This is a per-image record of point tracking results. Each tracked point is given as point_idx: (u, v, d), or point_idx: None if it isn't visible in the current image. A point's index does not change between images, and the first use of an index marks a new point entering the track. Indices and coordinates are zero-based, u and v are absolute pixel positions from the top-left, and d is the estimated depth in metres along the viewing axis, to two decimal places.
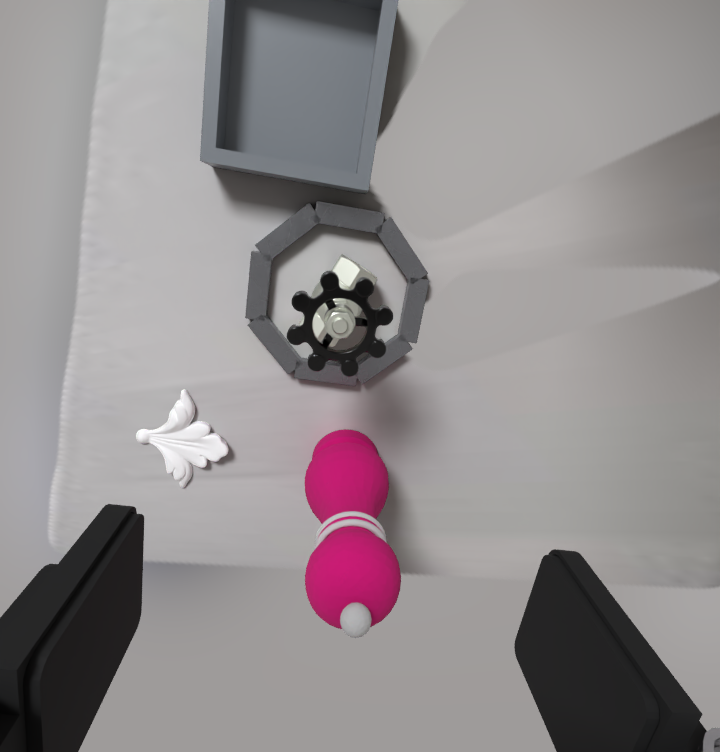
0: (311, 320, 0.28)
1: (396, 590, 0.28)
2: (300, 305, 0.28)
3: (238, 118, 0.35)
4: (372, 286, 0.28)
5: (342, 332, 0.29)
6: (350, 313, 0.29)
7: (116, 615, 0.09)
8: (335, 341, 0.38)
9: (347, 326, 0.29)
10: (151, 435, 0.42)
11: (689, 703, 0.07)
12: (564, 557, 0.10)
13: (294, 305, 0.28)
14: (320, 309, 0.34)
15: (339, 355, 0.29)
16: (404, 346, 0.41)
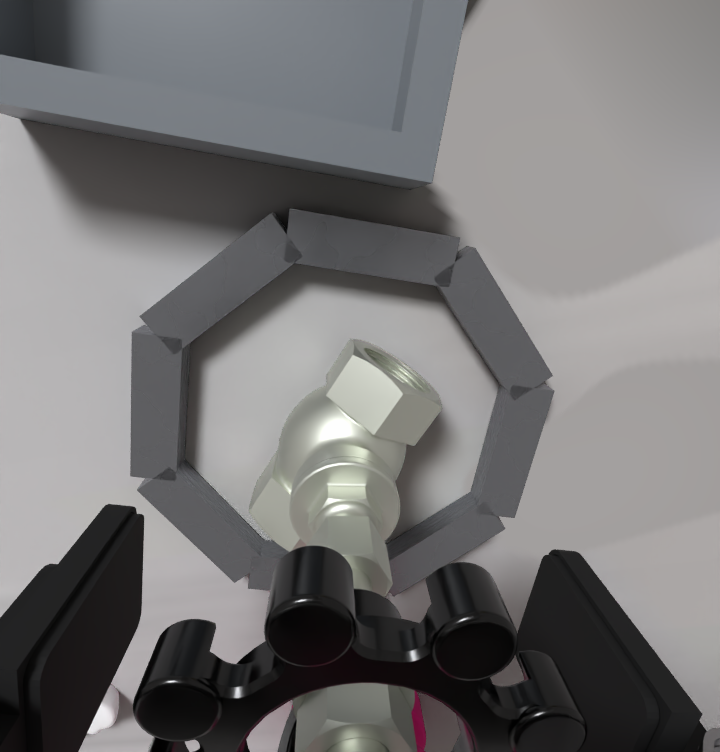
0: None
1: None
2: (175, 725, 0.06)
3: None
4: (514, 644, 0.06)
5: None
6: None
7: (116, 615, 0.09)
8: None
9: None
10: None
11: (689, 703, 0.07)
12: (564, 557, 0.10)
13: (146, 726, 0.06)
14: (297, 514, 0.12)
15: None
16: (488, 524, 0.19)
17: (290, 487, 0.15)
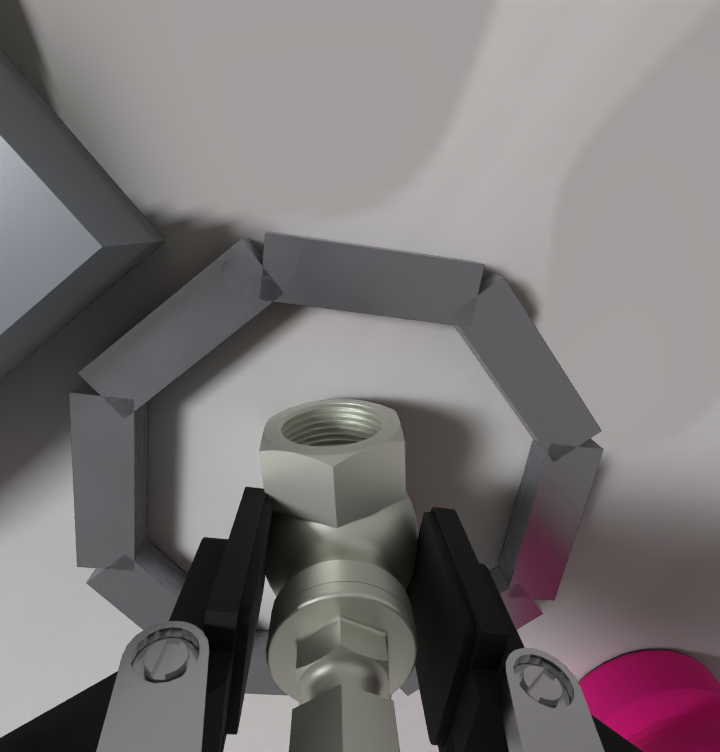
0: None
1: None
2: None
3: None
4: None
5: None
6: None
7: (262, 581, 0.10)
8: None
9: None
10: None
11: (502, 626, 0.08)
12: (438, 513, 0.11)
13: None
14: (291, 688, 0.09)
15: None
16: (579, 460, 0.14)
17: None
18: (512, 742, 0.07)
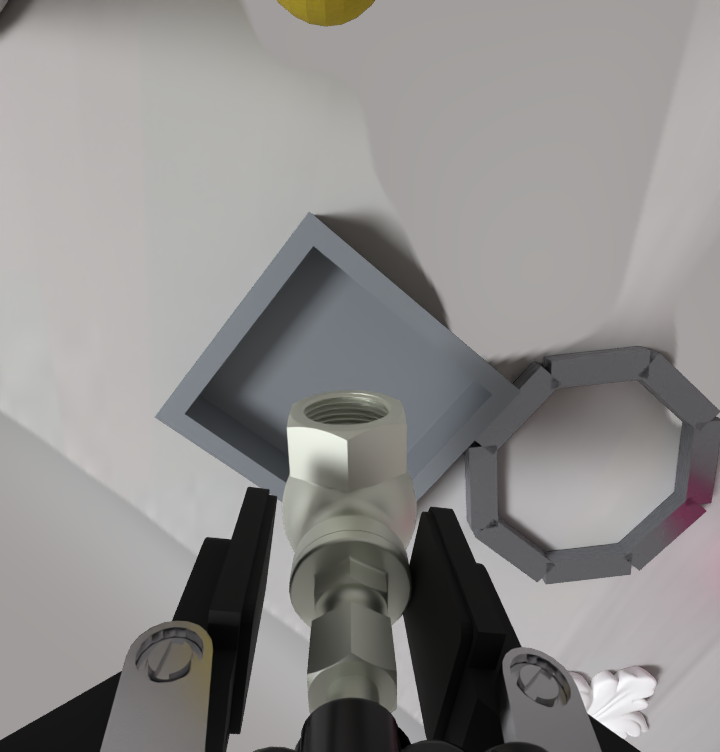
0: None
1: None
2: None
3: None
4: None
5: None
6: None
7: (264, 581, 0.10)
8: None
9: None
10: None
11: (499, 626, 0.08)
12: (436, 512, 0.11)
13: None
14: (308, 617, 0.11)
15: None
16: (711, 428, 0.27)
17: None
18: (508, 741, 0.07)
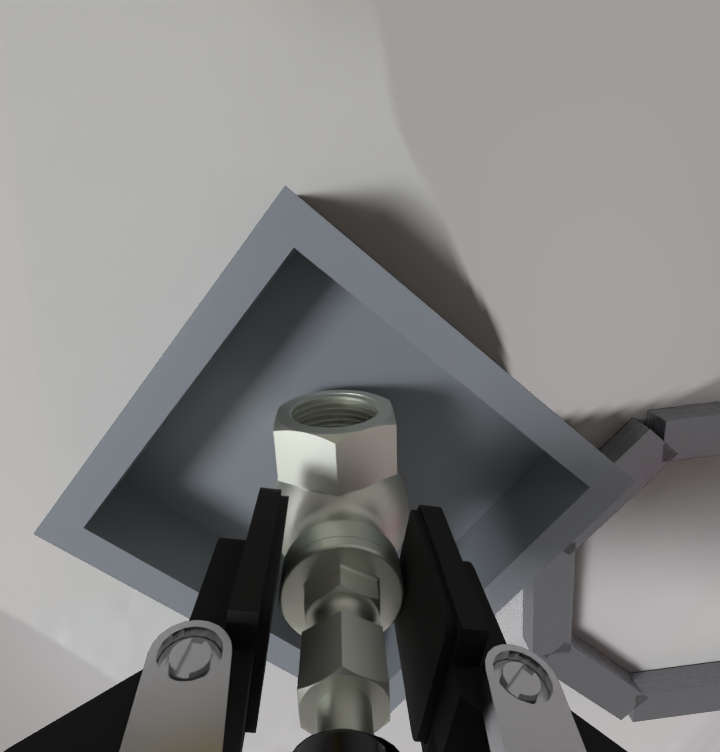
0: None
1: None
2: None
3: None
4: None
5: None
6: None
7: None
8: None
9: None
10: None
11: (483, 623, 0.08)
12: (424, 510, 0.11)
13: None
14: (299, 625, 0.11)
15: None
16: None
17: None
18: (489, 737, 0.07)
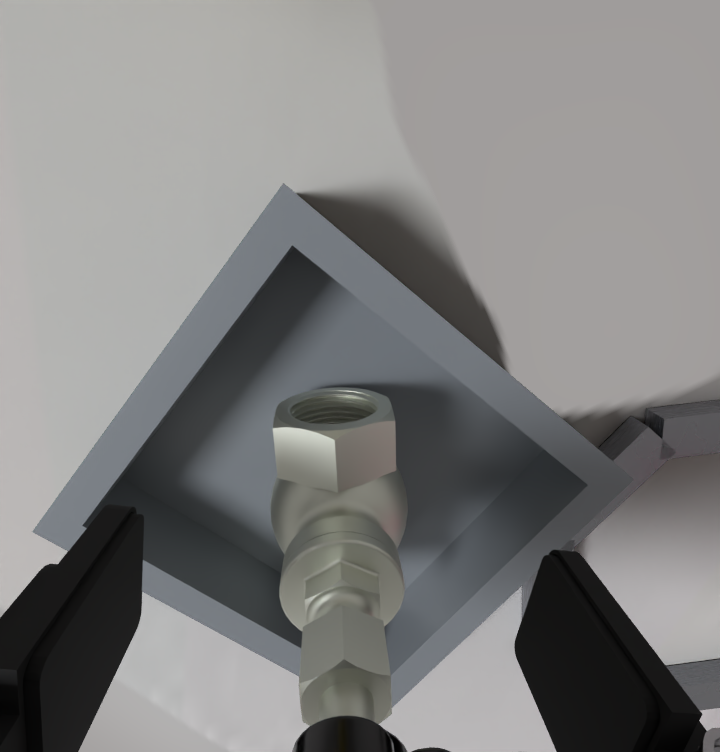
0: None
1: None
2: None
3: None
4: None
5: None
6: None
7: (116, 615, 0.09)
8: None
9: None
10: None
11: (689, 703, 0.07)
12: (564, 557, 0.10)
13: None
14: (299, 621, 0.11)
15: None
16: None
17: None
18: None
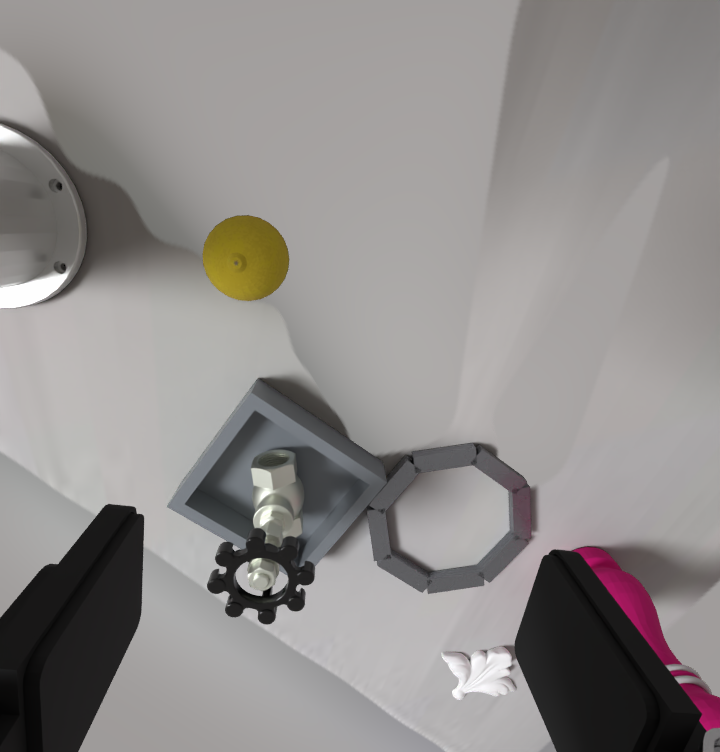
0: (235, 592, 0.29)
1: None
2: (217, 589, 0.29)
3: None
4: (260, 540, 0.28)
5: (266, 585, 0.29)
6: (265, 558, 0.30)
7: (116, 615, 0.09)
8: (299, 529, 0.38)
9: (266, 578, 0.29)
10: (461, 689, 0.50)
11: (689, 703, 0.07)
12: (564, 557, 0.10)
13: (213, 592, 0.29)
14: None
15: (279, 601, 0.30)
16: (523, 492, 0.42)
17: None
18: None
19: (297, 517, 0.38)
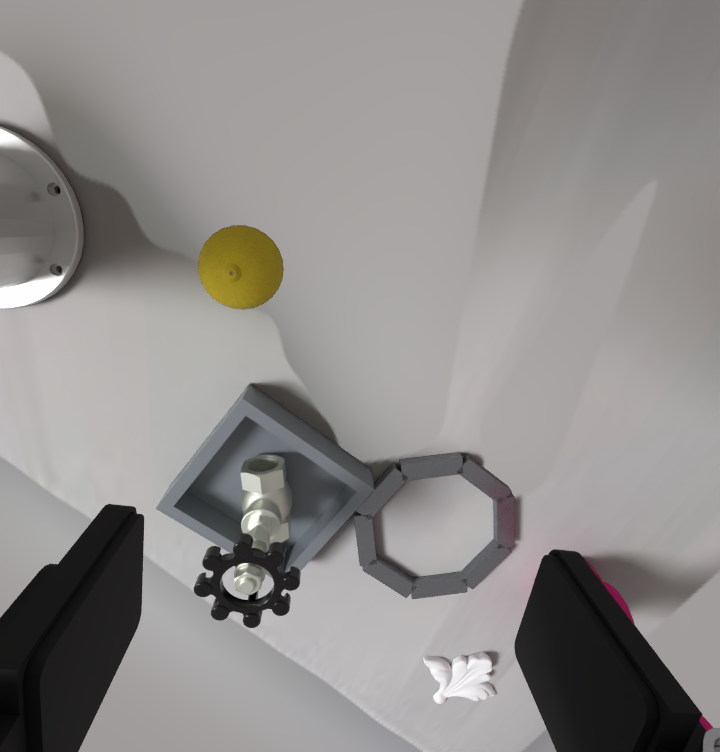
0: (221, 595, 0.30)
1: None
2: (204, 592, 0.29)
3: None
4: (247, 545, 0.29)
5: (252, 589, 0.30)
6: None
7: (116, 615, 0.09)
8: (286, 533, 0.39)
9: (253, 582, 0.30)
10: (442, 693, 0.50)
11: (689, 703, 0.07)
12: (564, 557, 0.10)
13: (199, 595, 0.29)
14: None
15: (264, 605, 0.30)
16: (507, 501, 0.43)
17: None
18: None
19: (285, 522, 0.39)
